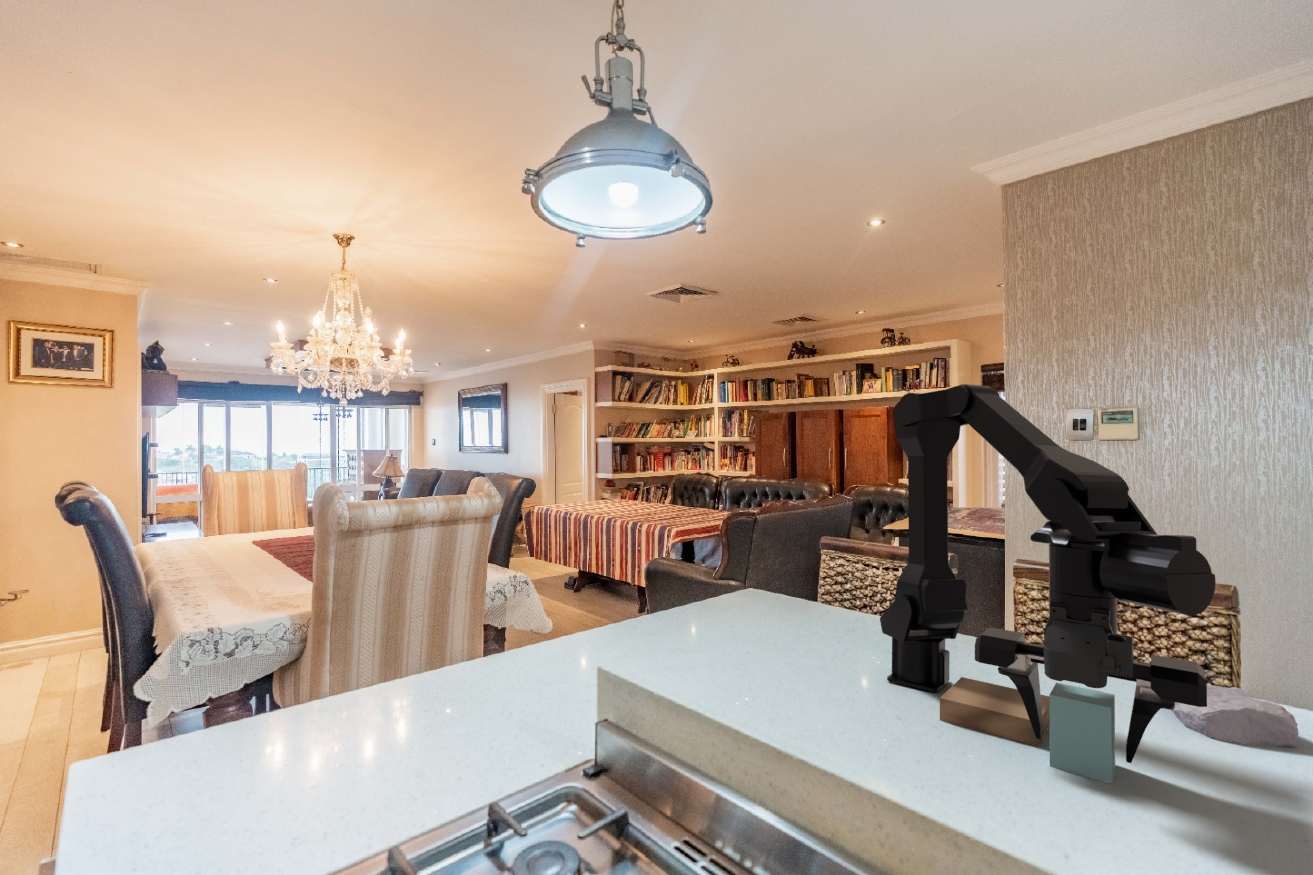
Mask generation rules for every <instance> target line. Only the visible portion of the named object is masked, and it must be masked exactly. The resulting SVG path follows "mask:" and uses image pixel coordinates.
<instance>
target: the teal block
mask: <svg viewBox="0 0 1313 875" xmlns="http://www.w3.org/2000/svg"><path fill="white" fill-rule="evenodd" d="M1049 696H1050V725H1049V767H1051V768H1055V769H1059V770H1063V771H1065V772H1069V773H1073V774H1076V775H1080V776H1084V777H1087V778H1091V779H1094V780H1098V781H1102V782H1106V783H1109V784H1112V783H1113V779H1114V773H1115V772H1114V771H1115V767H1116V728H1115V727H1116V720H1115V719H1116V718H1115V717H1116V716H1115V714H1116V712H1115V710H1116V709H1115V708H1116V707H1115V706H1116V701H1115V699H1116V698H1115V697H1116V695H1115V694H1113V693H1110V692H1104V691H1100V690H1097V689H1090V688H1087V687H1080V686H1076V685H1075V686H1074V685H1071V684H1066V683H1062V682H1061V683H1060V682H1058V681H1057V682H1055V684H1054V686H1053V687H1052V689H1051V691H1050V693H1049Z"/></svg>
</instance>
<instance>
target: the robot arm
mask: <svg viewBox="0 0 1313 875" xmlns="http://www.w3.org/2000/svg"><path fill="white" fill-rule="evenodd" d="M999 394H1000V393H999V392H998V391H997V390H996V389H995V388H993V387H991V386H989V385H977V384H968V383H967V384H965V383H964V384H963V383H961V384H959V385H955V386H952V387H949V388H947V389H940V390H935V391H927V392H924V393H923V392H922V393H919V392H918V393H917V392H908V393H906V394H904V395H903V396H902V397H901V398H900V400H898V402H897V403H896V404H895V406H894V408H893V422H894V431H895V438H896V440H897V442H898V444H899V446H900V447H901V448H902V451H903V452H904V453H905V455H906V457H907V473H908V474H907V479H908V482H907V485H908V486H907V487H908V488H907V490H908V492H907V494H908V496H907V497H908V499H907V500H908V501H907V502H908V503H907V504H908V509H907V510H908V514H907V515H908V562H907V563H906V565H905V567H904V568H903V570H902V572H901V574H900V576H899V577H898V579H897V580H896V587H895V595H894V600H893V601H892V603H891V604H890V605H888V606H889V607H887V608H886V609H885V611H884V612H883V614H882V615H880V616H879V621H880V626H881V633H882V634H883V635H886V636H888V637H890V638H891V674H889V675H887V677H886V680H887V681H888V682H891V683H896V684H898V685H903V686H908V687H910V688H911V687H912V688H915V689H920V690H924V691H929V692H931V693H932V692H933V693H937V692H939V691H940V690H941V689H942V688H943V687H944V686H945V685H946V684H947V683H949V681H950V657H951V656H950V653H951V652H950V651H949V650H948V649H946V640H948V639H949V640H955V639H956V638H957V635H958V632H959V629H960V626H961V623H963V621H964V616H965V611H968V610H969V609H968V604H967V599H966V593H967V583H966V580H965V579H963V578H957V576H956V574H955V573H954V571H953V569H952V568H951V566H950V562H949V509H948V508H949V501H948V497H949V494H948V491H949V490H948V489H949V488H948V459H949V458H948V457H949V456H950V454H951V453H952V451H953V449H954V447H955V446H956V445H957V443H958V441H959V439H960V434H961V428H962V427H963V426H970V427H971V428H972V429H973V430H974V431H976V433H977V434H979V436H980V437H982V438H983V439H984V441H986V442H987V443H988V444H989V445H990V446H991V447H992V448H994V450H996V451H997V452H998V453H999V455H1000V456H1002V457H1003V458H1004V459H1005V460H1006V461H1007V462H1008V463H1009V464H1010V465H1011V466H1012V467H1014V469H1016V470H1017V472H1018V473H1019V474H1020V475H1021V477H1022V478H1023V483H1024V489H1025V493H1026V495H1027V496H1028V497H1029V499H1030V500H1031V501H1032V502H1033V504H1034V506H1035V507H1036V508H1037V509H1038V511H1039V512H1040V513H1041V515H1042V516H1043V517H1044V518H1045V519H1046V520H1047V521H1046V522H1045V524H1044V525H1043V526H1042V527H1041V528H1039V529H1037V530H1036V531H1035V532H1033V533H1032V534H1031V535H1030V538H1029V539H1030V541H1031V542H1033V543H1034V542H1035V543H1042V544H1047V545H1048V621H1047V622H1046V625H1045V628H1044V629H1043V643H1042V644H1038V643H1031V642H1026V637H1025V632H1021V631H1020V632H1019V631H1013V630H1009V629H1008V630H1007V629H1001V628H998V627H997V628H995V627H990V626H989V628H988V629H986V630H984V631H983V632H982V633H981V634H980V635H979V636H978V637H975V638H976V639H975V643H974V661H976V662H977V663H979V664H980V663H981V664H986V665H991V666H994V667H995V666H996V667H997V670H998V674H999V675H1002V676H1006V677H1008V678H1009V679H1010V680H1011V681H1012V683H1013V685H1014V686H1015V689H1017V690H1018V692H1019V694H1020V696H1021V698H1022V700H1023V703H1024V705H1025V708H1026V711H1027V714H1028V717H1029V719H1030V722H1031V725H1032V728H1033V731H1034V733H1035V736H1036V738H1037V739H1039V740H1041V738H1042V730H1043V717H1042V706H1041V695H1042V694H1041V687H1040V686H1041V685H1040V673H1039V672H1040V671H1039V664H1041V665H1044V666H1043V667H1044V675H1045V676H1046V677H1048V678H1049V679H1050V680H1053V681H1057V682H1063V681H1066V682H1070V683H1071V682H1072V683H1076V684H1081V685H1085V686H1086V688H1087V687H1088V688H1092V689H1103V688H1105V687H1106V686H1107V684H1108V677H1109V678H1112V679H1113V678H1114V679H1118V680H1119V679H1120V680H1125V681H1130V682H1134V683H1136V685H1135V690H1134V695H1133V696H1134V697H1133V702H1132V708H1131V714H1130V720H1129V724H1128V725H1129V727H1128V732H1127V739H1126V745H1125V761H1126V763H1129V764H1132V762H1133V760H1134V758H1135V755H1136V753H1137V751H1138V748H1139V746H1140V743H1141V741H1142V738H1143V736H1144V733H1145V731H1146V729H1147V727H1148V725H1150V722H1151V721H1152V719H1154V717H1155V715H1156V714H1157V713H1158V712H1159V711H1160V710H1161V709H1165V710H1170V711H1171V710H1172V709H1175V702H1177V703H1182V704H1187V705H1192V706H1197V707H1207V685H1208V684H1207V676H1206V672H1205V669H1204V668H1203V667H1202V666H1201V665H1200V664H1199V663H1198V662H1196V661H1192V660H1185V659H1180V658H1174V657H1167V656H1163V655H1155V654H1151V656H1150V663H1145V662H1139V661H1134V639H1133V636H1129V635H1123V634H1118V600H1119V601H1120V602H1124V603H1128V604H1135V605H1140V606H1143V607H1147V608H1152V609H1157V610H1161V611H1166V612H1169V613H1175V614H1180V615H1185V616H1188V617H1194V616H1197V615H1200V614H1203V612H1204V611H1206V610H1207V608H1208V607H1209V606H1210V604H1211V603H1212V600H1213V598H1214V595H1215V591H1216V582H1217V581H1216V575H1215V573H1213V572H1212V571H1213V570H1212V568H1211V565H1210V563H1209V561H1208V559H1207V558H1206V557H1205V555H1204V554H1203V553H1201V552H1200V551H1198V550H1197V538H1196V537H1195V536H1194V535H1185V534H1157V532H1156V531H1155V529H1154V528H1153V526H1152V525H1151V524H1150V522H1149V521H1148V520H1147V518H1146V517H1145V516H1144V514H1143V513H1142V511H1141V510H1140V508H1139V507H1138V506H1137V504H1136V503H1135V502H1134V500H1133V499H1132V498H1131V496H1130V494H1129V490H1130V488H1129V485H1128V484H1127V482H1126V481H1125V479H1123V478H1122V476H1121V475H1120V474H1118V473H1116V472H1115V471H1113V470H1111V469H1109V468H1108V467H1106V466H1104V465H1103V464H1100V463H1098V462H1096V461H1094V460H1093V459H1090V458H1087V457H1084V456H1082V455H1079V454H1077V453H1074V452H1071V451H1070V450H1069V451H1068V450H1067V449H1065V448H1064V447H1061V446H1060V445H1058V444H1057V443H1056V442H1055V441H1053V440H1052V439H1051V438H1050V437H1049V436H1048V435H1046V434H1045V433H1044V432H1043V431H1042V430H1041V429H1039V428H1038V427H1037V426H1036V425H1034V424H1033V423H1032V422H1031V421H1029V420H1028V419H1027V417H1025V416H1024V415H1022V414H1021V413H1020V412H1019V411H1018V410H1017V409H1015V408H1014V407H1013V406H1012V405H1010V404H1009V403H1008V402H1007V401H1005V400H1004V399H1003V397H1001V396H1000V395H999Z"/></svg>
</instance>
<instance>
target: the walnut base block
mask: <svg viewBox="0 0 1313 875" xmlns="http://www.w3.org/2000/svg"><path fill="white" fill-rule="evenodd" d="M1041 706H1042V717H1043V730H1042V738H1041V740H1039V739H1037V738H1036V736H1035V733H1034V731H1033V728H1032V725H1031V722H1030V719H1029V717H1028V714H1027V711H1026V708H1025V705H1024V703H1023V700H1022V698H1021V696H1020V694H1019V692H1018V690H1017V688H1013V687H1009V686H1005V685H999V684H995V683H992V682H991V683H990V682H985V681H981V680H976V679H974V678H973V679H972V678H967V677H963V676H961V677H960V678H959V679H958V680H957V681H956V682H955V683H954V684H953V685H952V686H951V687H949V689H948V690H947V691H945V692H944V693H943V694H942V695H941V696H940V697H939V721H941V722H945V723H950V724H953V725H956V726H959V727H960V726H961V727H965V728H968V729H972V730H974V731H979V732H982V733H987V734H989V735H990V734H991V735H994V736H997V737H1001V738H1006V739H1010V740H1014V741H1017V742H1021V743H1025V744H1028V745H1032V746H1036V747H1040V746H1041V744H1042V742H1043V740H1044V737H1045V735H1046V734H1047V731H1048V729H1049V728H1050V695H1044V694H1041Z"/></svg>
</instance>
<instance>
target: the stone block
mask: <svg viewBox="0 0 1313 875" xmlns="http://www.w3.org/2000/svg"><path fill="white" fill-rule="evenodd" d="M1170 711H1171V712H1172V713H1174V716H1175V718H1176V719H1178V720H1179V722H1181V723H1182V725H1183V726H1184V727H1186V728H1187V729H1189V730H1191V731H1193V732H1196V733H1198V734H1201V735H1203V736H1205V737H1207V738H1210V739H1213V740H1217V741H1221V742H1229V743H1234V744H1242V745H1256V746H1260V745H1263V746H1269V747H1270V746H1271V747H1285V748H1292V749H1293V748H1294V749H1296V748H1297V747H1298V745H1299V738H1298V737H1299V729H1298V726H1299V725H1298V722H1297V721H1296V718H1295V716H1294V715H1293V714H1292V713H1291V712H1290V711H1288V709H1286V708H1285V707H1284V706H1282V705H1280V704H1277V703H1275V702H1274V703H1273V702H1270V701H1267V700H1260V699H1254V698H1253V697H1250V696H1248V695H1247V694H1246V693H1245V692H1244V690H1242V689H1241V688H1239V687H1234V686H1232V687H1225V686H1219V685H1212V684H1207V707H1197V706H1192V705H1187V704H1182V703H1177V702H1175V709H1172V710H1170Z"/></svg>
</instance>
